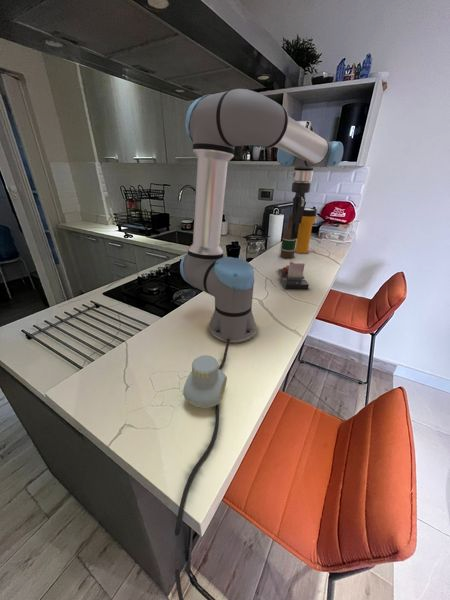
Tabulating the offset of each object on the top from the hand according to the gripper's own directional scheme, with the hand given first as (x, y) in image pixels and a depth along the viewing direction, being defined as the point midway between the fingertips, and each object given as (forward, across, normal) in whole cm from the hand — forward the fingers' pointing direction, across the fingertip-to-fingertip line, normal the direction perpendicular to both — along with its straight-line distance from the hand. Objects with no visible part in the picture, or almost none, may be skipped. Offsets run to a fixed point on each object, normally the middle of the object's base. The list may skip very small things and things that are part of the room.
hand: (293, 238), depth 118 cm
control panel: (+18, +11, 0) cm, 21 cm away
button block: (+18, 0, 0) cm, 18 cm away
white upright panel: (+16, +11, 0) cm, 19 cm away
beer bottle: (+19, -28, +5) cm, 34 cm away
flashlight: (+19, -38, +16) cm, 45 cm away
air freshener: (+19, +74, -36) cm, 85 cm away
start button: (+16, 0, 0) cm, 16 cm away
